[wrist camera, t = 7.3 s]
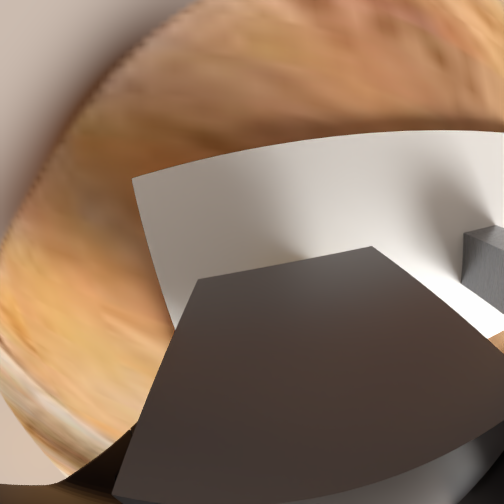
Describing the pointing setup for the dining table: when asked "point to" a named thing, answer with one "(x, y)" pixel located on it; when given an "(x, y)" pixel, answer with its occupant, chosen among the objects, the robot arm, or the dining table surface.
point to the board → (329, 209)
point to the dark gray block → (318, 392)
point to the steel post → (484, 264)
